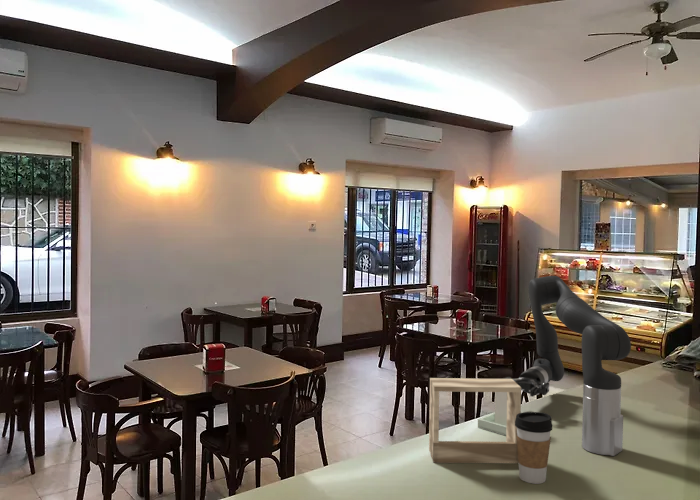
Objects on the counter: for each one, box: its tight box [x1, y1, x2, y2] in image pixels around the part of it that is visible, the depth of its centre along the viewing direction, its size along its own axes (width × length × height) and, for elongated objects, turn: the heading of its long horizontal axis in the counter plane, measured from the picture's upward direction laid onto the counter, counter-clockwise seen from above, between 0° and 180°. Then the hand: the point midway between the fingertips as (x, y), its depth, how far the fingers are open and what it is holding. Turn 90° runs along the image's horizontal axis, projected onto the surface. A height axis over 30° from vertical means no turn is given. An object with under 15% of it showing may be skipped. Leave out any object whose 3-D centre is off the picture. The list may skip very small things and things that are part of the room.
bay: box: [428, 377, 522, 464], centre depth 146 cm, size 8×22×19 cm, turn 90°
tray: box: [477, 411, 506, 437], centre depth 167 cm, size 12×12×2 cm
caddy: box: [494, 392, 507, 426], centre depth 167 cm, size 5×5×12 cm
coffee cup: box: [515, 411, 553, 485], centre depth 133 cm, size 8×8×15 cm
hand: (517, 390), depth 176 cm, fingers open, 8 cm apart
